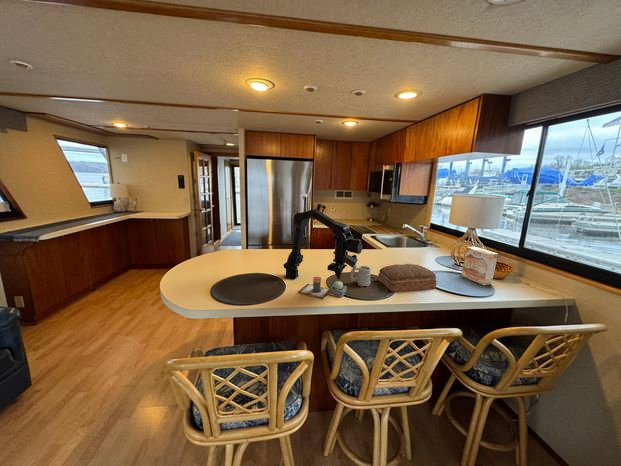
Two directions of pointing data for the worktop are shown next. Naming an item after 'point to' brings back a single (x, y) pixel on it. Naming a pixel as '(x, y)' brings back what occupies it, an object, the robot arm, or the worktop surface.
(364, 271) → the mug
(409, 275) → the bread
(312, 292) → the picture frame
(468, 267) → the coffeecake box
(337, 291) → the button collar
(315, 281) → the marker
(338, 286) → the button
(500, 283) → the worktop surface
